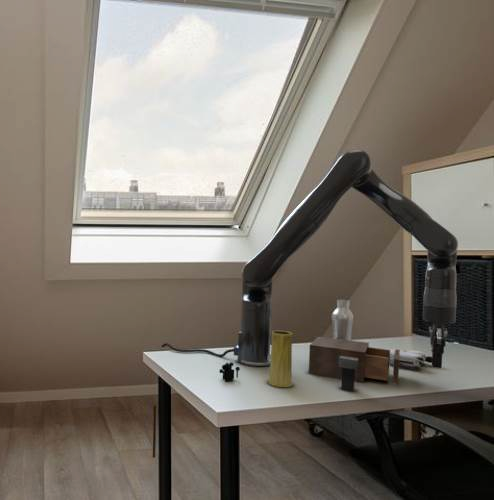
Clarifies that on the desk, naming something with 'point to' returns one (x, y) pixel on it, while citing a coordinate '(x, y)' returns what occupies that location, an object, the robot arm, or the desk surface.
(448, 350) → the desk surface
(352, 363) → the tall brushed metal prism
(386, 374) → the drawer
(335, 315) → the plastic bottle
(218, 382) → the desk surface
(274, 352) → the vase
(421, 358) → the robot toy
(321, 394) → the desk surface
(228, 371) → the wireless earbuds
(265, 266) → the robot arm
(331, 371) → the cabinet
